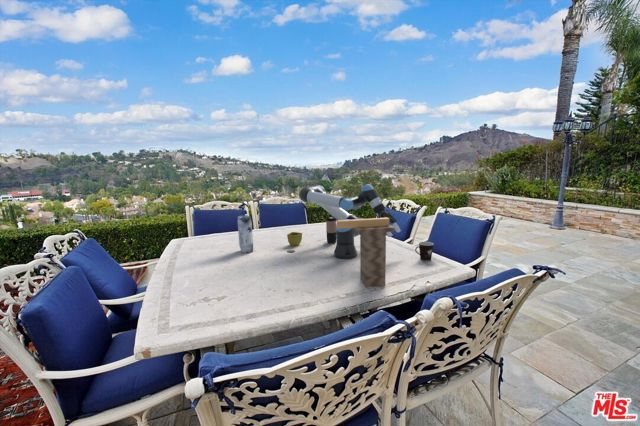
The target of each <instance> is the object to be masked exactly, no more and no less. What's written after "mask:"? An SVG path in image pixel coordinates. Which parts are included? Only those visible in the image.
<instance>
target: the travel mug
mask: <svg viewBox="0 0 640 426" xmlns="http://www.w3.org/2000/svg"><path fill="white" fill-rule="evenodd" d="M325 220H326V221H325V223H326V232H325V233H326V243H327V244H329V245H334V244H335V245H336V244H337V239H336V224H337V219H336V218H335V217H334V216H332V215H331V216H330V215H329V216H326V218H325Z"/></svg>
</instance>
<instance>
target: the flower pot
mask: <svg viewBox="0 0 640 426" xmlns="http://www.w3.org/2000/svg"><path fill="white" fill-rule="evenodd" d="M286 236H287V238H286V239H287V242H288V244H289V245H290V246H292V247H297V246H299V245H300V244H301V242H302V240H303V232H299V231H292V232H290V233H287V234H286Z"/></svg>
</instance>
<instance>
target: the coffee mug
mask: <svg viewBox="0 0 640 426" xmlns="http://www.w3.org/2000/svg"><path fill="white" fill-rule="evenodd" d="M417 249H419V252H418V251H417ZM414 250H415V253H416V254H418V255H419V258H420V260H422V261H426V260H429V261H431V260H432V256H433V250H434V242H431V241H419V242H418V246H416V247H415V249H414Z"/></svg>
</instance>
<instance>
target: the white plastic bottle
mask: <svg viewBox="0 0 640 426" xmlns="http://www.w3.org/2000/svg"><path fill="white" fill-rule="evenodd" d="M252 223H253V222H252V217H251V216H250V214H249V213H246V214H244V215H237V230H238V231H237V232H238V244H239V249H240V251H241V253H242V254H248V253H253V252H254V239H253V238H254V235H253V234H254V233H253V225H252ZM247 252H248V253H247Z"/></svg>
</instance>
